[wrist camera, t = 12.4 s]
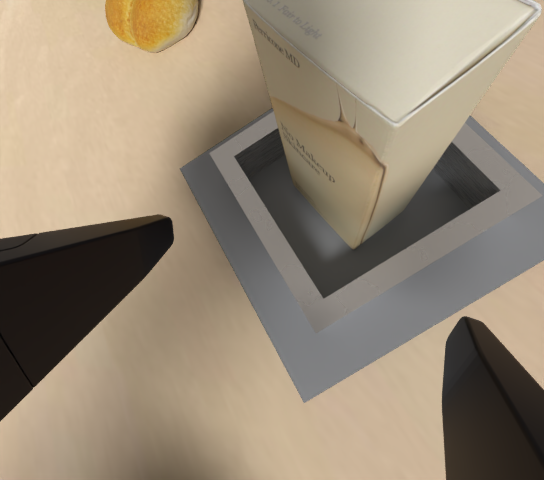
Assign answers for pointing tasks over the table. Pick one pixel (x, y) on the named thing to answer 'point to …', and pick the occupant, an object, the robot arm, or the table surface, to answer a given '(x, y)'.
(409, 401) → the table surface
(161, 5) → the bread roll
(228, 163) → the port collar
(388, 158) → the skincare box
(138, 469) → the table surface
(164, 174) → the table surface
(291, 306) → the port base
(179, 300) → the table surface
